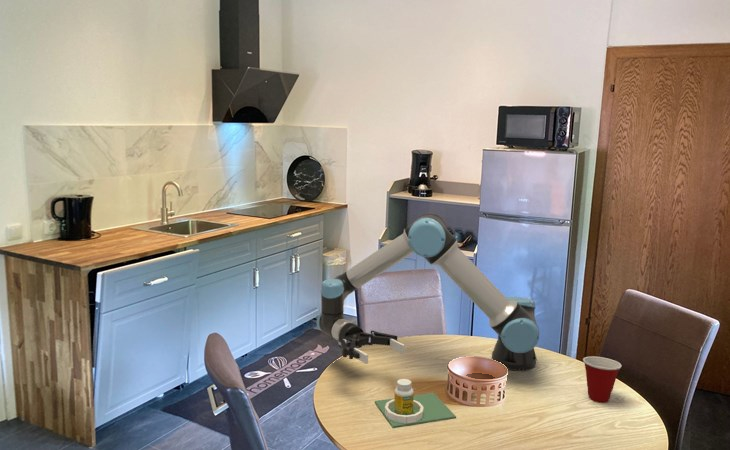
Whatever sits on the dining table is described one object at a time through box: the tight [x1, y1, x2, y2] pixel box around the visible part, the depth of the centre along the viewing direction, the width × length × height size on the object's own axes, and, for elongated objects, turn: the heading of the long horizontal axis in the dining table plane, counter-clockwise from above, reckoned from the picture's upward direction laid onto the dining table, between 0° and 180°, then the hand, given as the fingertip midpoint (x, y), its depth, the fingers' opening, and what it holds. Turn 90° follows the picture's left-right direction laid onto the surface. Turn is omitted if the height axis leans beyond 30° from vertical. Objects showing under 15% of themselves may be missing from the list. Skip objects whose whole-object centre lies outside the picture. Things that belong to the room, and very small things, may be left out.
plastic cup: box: [582, 355, 623, 404], centre depth 173 cm, size 11×11×12 cm
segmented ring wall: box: [385, 398, 424, 424], centre depth 162 cm, size 11×11×2 cm
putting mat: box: [374, 392, 457, 429], centre depth 165 cm, size 19×15×1 cm
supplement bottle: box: [394, 378, 415, 415], centre depth 161 cm, size 5×5×10 cm
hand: (385, 354), depth 171 cm, fingers open, 13 cm apart
